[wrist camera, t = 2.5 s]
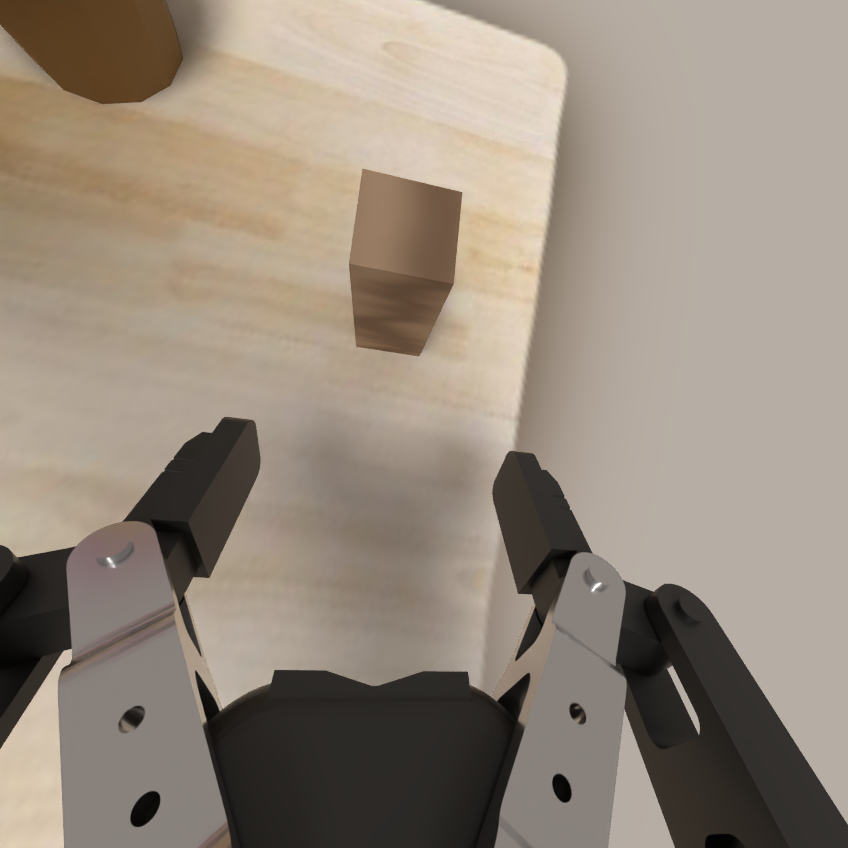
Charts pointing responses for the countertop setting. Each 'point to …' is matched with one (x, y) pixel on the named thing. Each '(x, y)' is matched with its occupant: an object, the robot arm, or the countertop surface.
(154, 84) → the flowerpot
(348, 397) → the countertop surface
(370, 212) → the walnut block
